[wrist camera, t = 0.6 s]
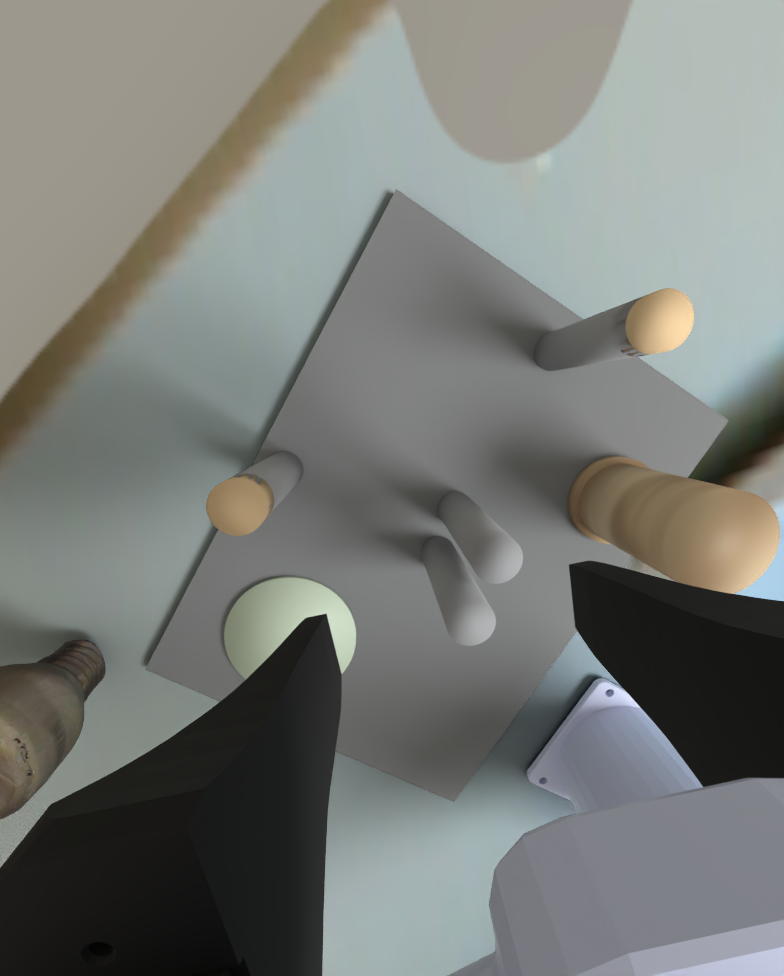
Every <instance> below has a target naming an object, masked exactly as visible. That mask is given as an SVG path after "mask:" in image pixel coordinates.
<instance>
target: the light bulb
mask: <svg viewBox="0 0 784 976" xmlns="http://www.w3.org/2000/svg"><path fill="white" fill-rule="evenodd" d="M104 676H105V663H104V659H103V656H102V654H101V651H100V650H99V648H98V647H97V646H96V645H95V644H94V643H92V642H90V641H88V640H73V641H69V642H66V643H64V644H63V645H62V646H61V647H60V648H59V649H58V650H56V651H55V653H53V654H51V655H50V656H48V657H45V658H43V659H42V660H40V661H38V662H37V663H31V664H13V665H7V666H1V667H0V819H2V818H5V817H7V816H9V815H11V814H13V813H14V812H16V811H17V810H19V809H21V808H22V807H23V806H24V805H25V803H26V802H27V801H28V800H29V799H30V798H31V797H32V796H33V795H34V794H35V793H36V792H37V791H38V790H39V789H40V788H41V787H42V786H43V785H44V784H45V783H46V781H47V780H48V779H49V777H50V776H51V775H52V773H53V772H54V771H55V769H56V768H57V767H58V766H59V765H60V763H61V762H62V761H63V760H64V758H65V757H66V756H67V754H68V753H69V752H70V751H71V749H72V748H73V746H74V745H75V743H76V741H77V739H78V737H79V735H80V733H81V730H82V726H83V721H84V702H85V701H86V699H87V697H88V696H89V694H90V693H91V692H92V691H93V689H94V688H95V687H96V686H97V685H98V683H99V682H100V681H101V680H102V679H103V678H104Z"/></svg>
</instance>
